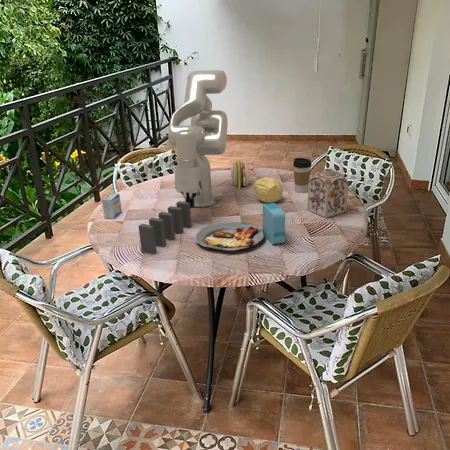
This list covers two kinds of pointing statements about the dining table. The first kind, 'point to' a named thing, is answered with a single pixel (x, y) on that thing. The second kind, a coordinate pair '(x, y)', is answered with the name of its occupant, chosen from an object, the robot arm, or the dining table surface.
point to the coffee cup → (301, 174)
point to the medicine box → (111, 206)
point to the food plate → (230, 236)
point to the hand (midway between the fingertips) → (190, 207)
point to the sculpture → (268, 189)
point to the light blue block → (274, 223)
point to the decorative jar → (327, 193)
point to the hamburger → (241, 173)
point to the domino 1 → (147, 238)
